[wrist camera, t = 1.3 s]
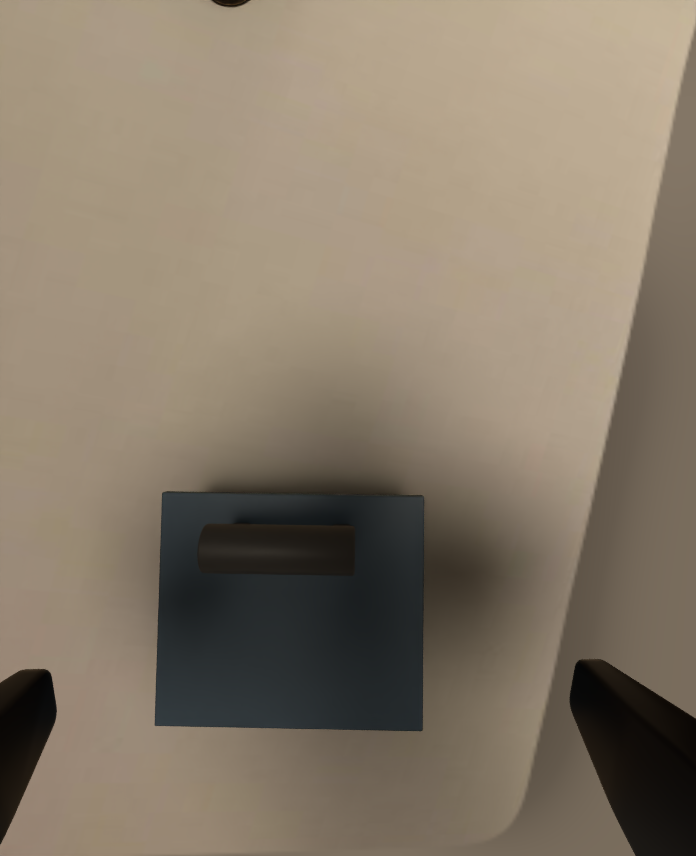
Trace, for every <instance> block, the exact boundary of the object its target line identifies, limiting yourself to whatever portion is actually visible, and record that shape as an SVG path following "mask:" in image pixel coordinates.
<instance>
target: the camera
mask: <svg viewBox="0 0 696 856" xmlns="http://www.w3.org/2000/svg"><path fill="white" fill-rule="evenodd" d="M214 1H216V2H218V3H221V4H224V5H237V4H240V3H242V2H244V1H246V0H214Z"/></svg>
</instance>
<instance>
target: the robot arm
mask: <svg viewBox="0 0 696 856" xmlns="http://www.w3.org/2000/svg"><path fill="white" fill-rule="evenodd" d="M570 707H571V711H572V713H573V716H574V719H575V721H576V723H577V726H578V729H579V731H580V733H581V736H582V738H583V741H584V743H585V745H586V748H587V750H588V753H589V755H590V758H591V760H592V762H593V765H594V767H595V769H596V772H597V775H598V777H599V779H600V782H601V784H602V787H603V789H604V791H605V794H606V796H607V799H608V801H609V803H610V805H611V808H612V810H613V812H614V814H615V816H616V818H617V820H618V822H619V824H620V826H621V828H622V830H623V832H624V834H625V836H626V838H627V840H628V842H629V844H630V846H631V848H632V850H633V852H634V853H635V855H636V856H696V718H694V717H692V716H691V715H689V714H688V713H686V712H684V711H683V710H681V709H680V708H678V707H677V706H675V705H673V704H672V703H670V702H669V701H667V700H665V699H664V698H662V697H661V696H659V695H658V694H656V693H654V692H653V691H651V690H650V689H648V688H647V687H645V686H643V685H642V684H640V683H639V682H637V681H636V680H634V679H632V678H631V677H629V676H628V675H626V674H624V673H623V672H621V671H620V670H618V669H617V668H615V667H613V666H612V665H610V664H609V663H607V662H605V661H603V660H601V659H582V660H579V661H578V662H577V663H576V665H575V670H574V675H573V680H572V686H571V691H570ZM56 713H57V708H56V701H55V695H54V688H53V682H52V676H51V673H50V672H49V671H48V670H46V669H25V670H21V671H19V672H17V673H15V674H13V675H12V676H10V677H9V678H7V679H5V680H4V681H2V682H1V683H0V844H1V842H2V840H3V838H4V836H5V835H6V832H7V830H8V828H9V826H10V824H11V822H12V819H13V817H14V815H15V813H16V811H17V808H18V806H19V804H20V801H21V799H22V797H23V795H24V792H25V790H26V788H27V785H28V783H29V781H30V779H31V776H32V774H33V772H34V769H35V767H36V765H37V763H38V760H39V758H40V756H41V753H42V751H43V749H44V747H45V744H46V742H47V740H48V738H49V735H50V733H51V731H52V728H53V726H54V723H55V720H56Z"/></svg>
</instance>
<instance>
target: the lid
mask: <svg viewBox="0 0 696 856" xmlns="http://www.w3.org/2000/svg"><path fill="white" fill-rule="evenodd" d="M423 606H424V496H422V495H369V494H304V493H240V492H175V491H167V492H163V493H162V515H161V546H160V577H159V608H158V639H157V671H156V702H155V726H190V727H240V728H289V729H339V730H388V731H422V730H423Z"/></svg>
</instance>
